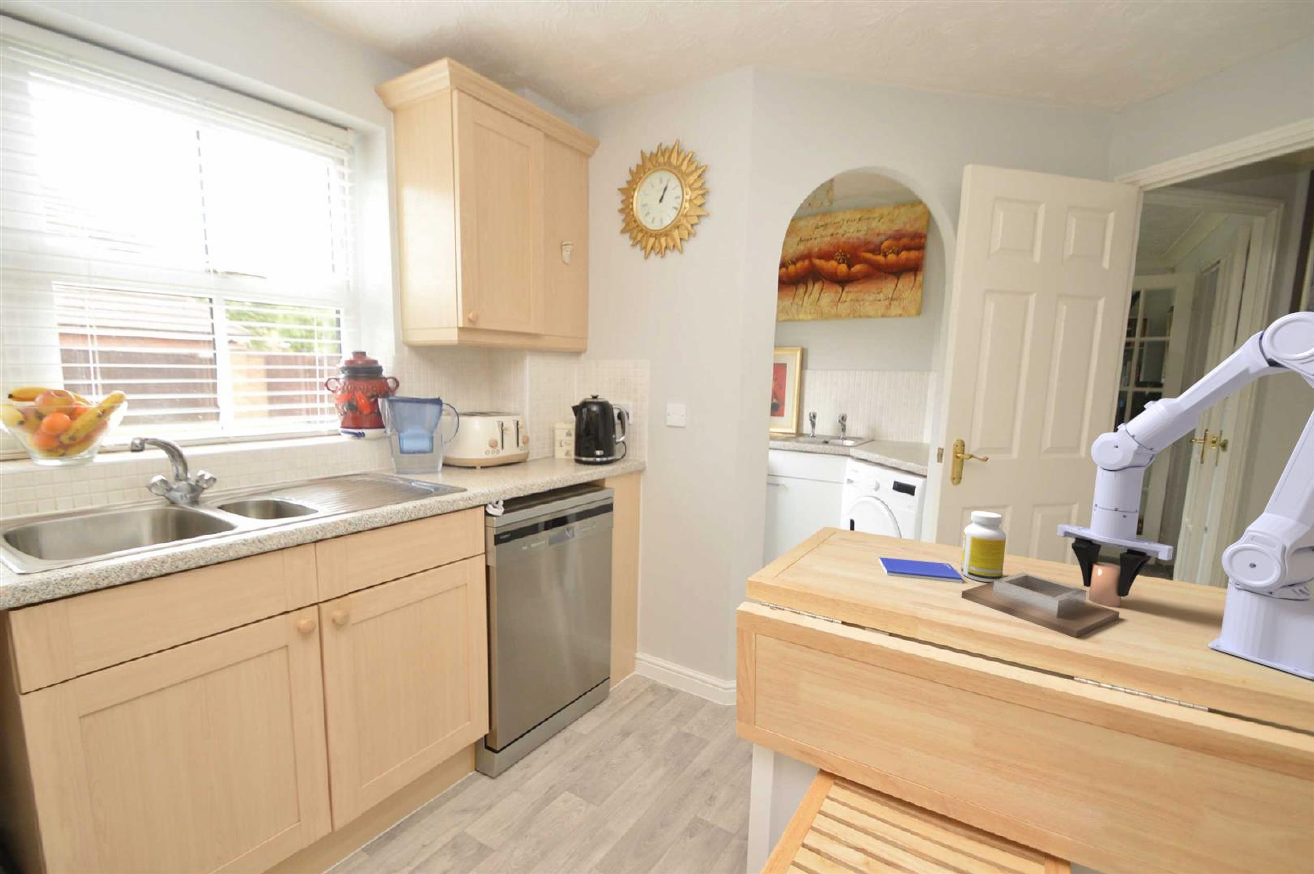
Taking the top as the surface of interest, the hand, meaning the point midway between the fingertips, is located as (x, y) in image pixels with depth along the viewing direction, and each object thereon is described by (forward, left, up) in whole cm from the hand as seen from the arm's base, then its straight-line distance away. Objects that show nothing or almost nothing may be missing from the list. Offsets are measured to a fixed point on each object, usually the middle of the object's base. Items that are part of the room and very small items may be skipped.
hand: (1105, 590), depth 90 cm
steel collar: (+4, +13, -2) cm, 14 cm away
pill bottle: (+16, +7, -2) cm, 18 cm away
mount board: (+4, +13, -2) cm, 14 cm away
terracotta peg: (0, 0, -2) cm, 2 cm away
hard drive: (+23, +15, -3) cm, 27 cm away
